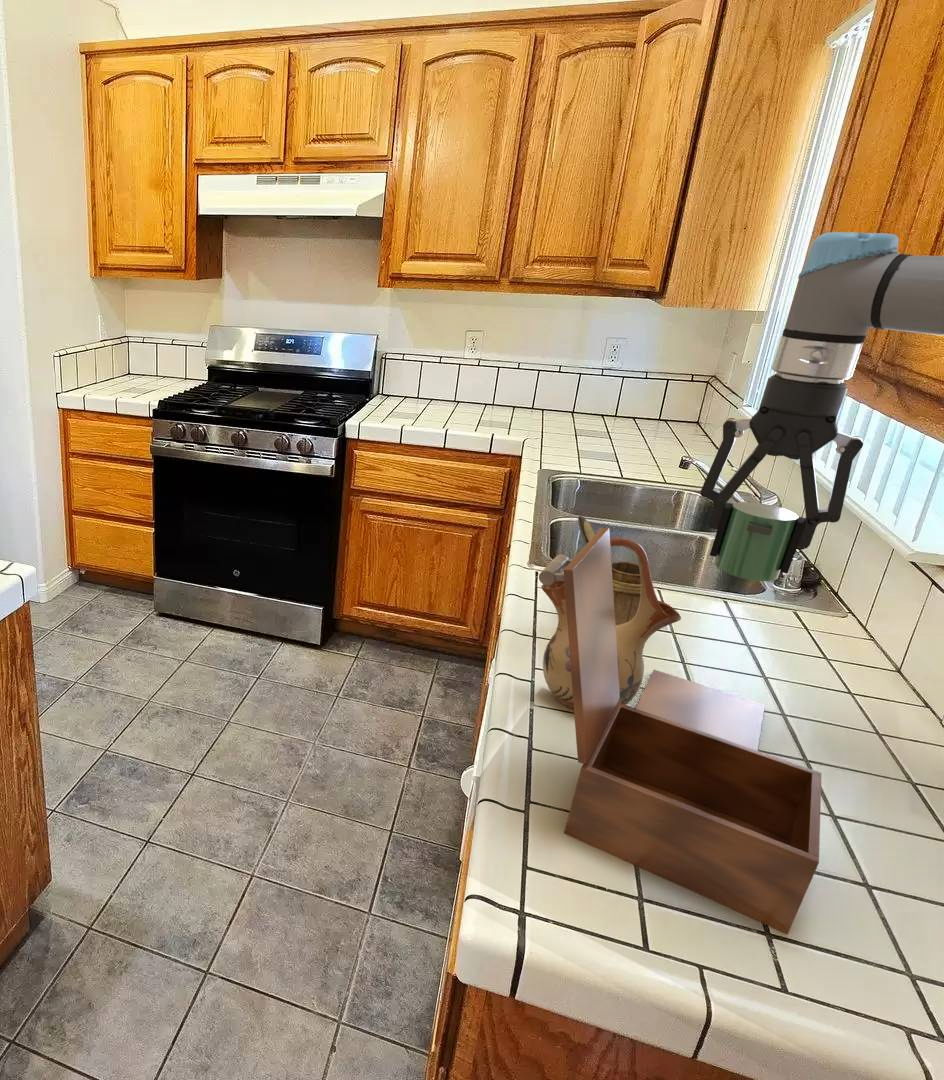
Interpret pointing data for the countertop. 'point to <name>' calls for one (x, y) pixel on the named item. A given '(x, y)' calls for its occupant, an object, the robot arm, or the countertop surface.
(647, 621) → the ceramic vessel
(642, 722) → the chest
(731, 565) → the pot
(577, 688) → the chest lid
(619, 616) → the wooden mug
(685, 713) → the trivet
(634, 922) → the countertop surface
